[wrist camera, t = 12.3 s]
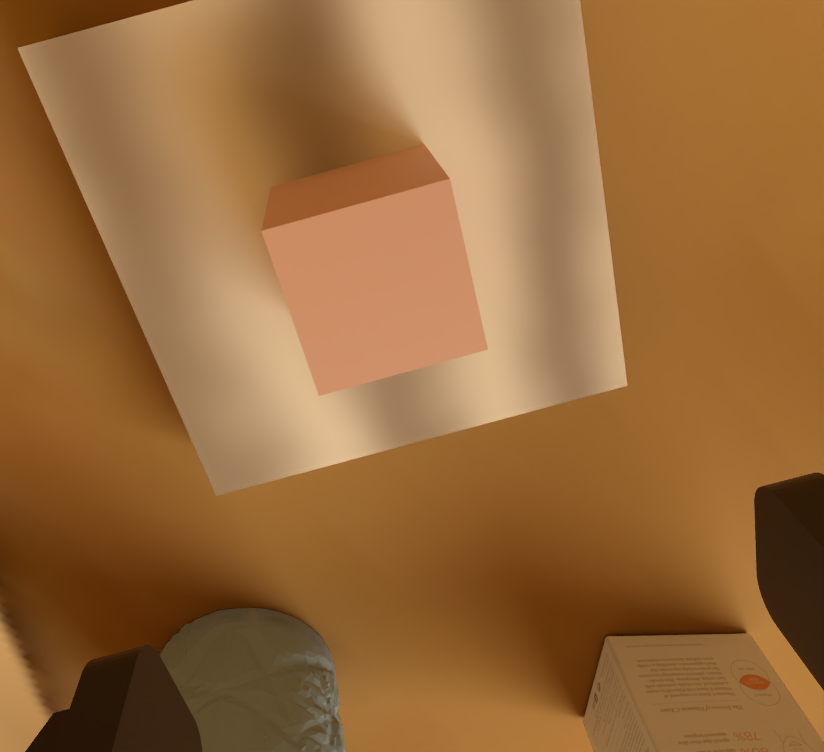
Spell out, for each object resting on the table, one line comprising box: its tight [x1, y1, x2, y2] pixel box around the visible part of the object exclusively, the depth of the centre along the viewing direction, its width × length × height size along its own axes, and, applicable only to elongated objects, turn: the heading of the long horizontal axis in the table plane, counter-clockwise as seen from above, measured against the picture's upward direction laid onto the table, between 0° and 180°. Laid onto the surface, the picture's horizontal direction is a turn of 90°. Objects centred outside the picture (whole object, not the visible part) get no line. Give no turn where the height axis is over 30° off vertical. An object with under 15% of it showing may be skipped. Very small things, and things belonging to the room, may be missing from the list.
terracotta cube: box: [261, 144, 488, 396], centre depth 23 cm, size 5×5×5 cm
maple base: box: [17, 0, 627, 496], centre depth 27 cm, size 16×16×3 cm
